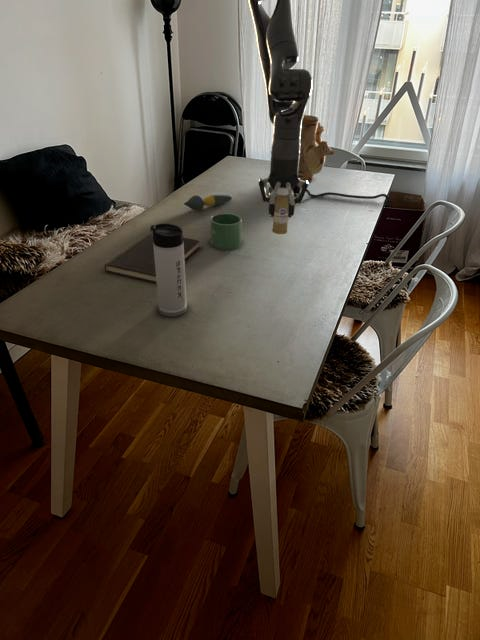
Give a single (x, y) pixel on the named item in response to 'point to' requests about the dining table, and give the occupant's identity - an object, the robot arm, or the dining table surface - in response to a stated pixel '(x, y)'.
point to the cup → (226, 231)
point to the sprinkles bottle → (281, 211)
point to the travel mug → (169, 269)
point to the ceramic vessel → (312, 148)
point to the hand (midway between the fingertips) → (280, 215)
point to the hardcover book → (143, 259)
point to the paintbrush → (207, 201)
